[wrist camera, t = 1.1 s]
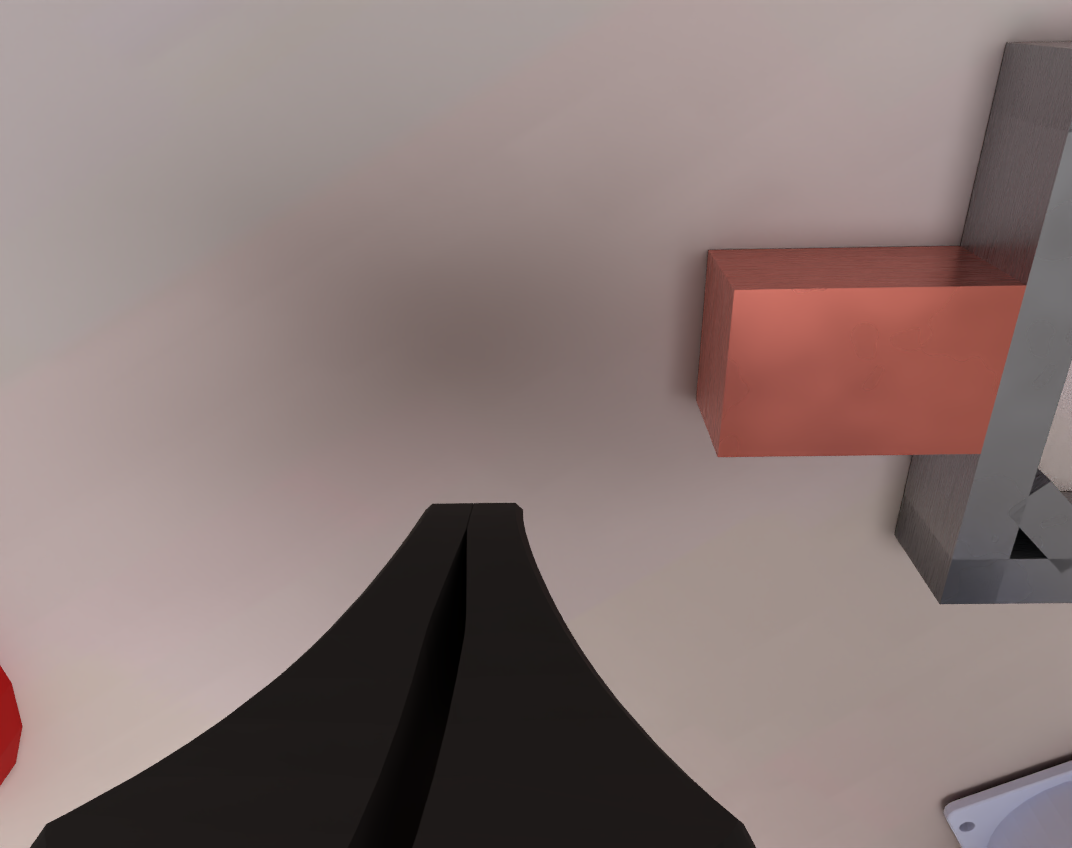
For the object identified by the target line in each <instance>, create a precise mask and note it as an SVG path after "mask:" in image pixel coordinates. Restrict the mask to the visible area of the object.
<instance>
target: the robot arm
mask: <svg viewBox="0 0 1072 848" xmlns="http://www.w3.org/2000/svg"><path fill="white" fill-rule="evenodd" d="M943 812H944V815H945V817H946V819H947V822H948V823H949V825H950V827H951V829H952V831H953V832H954V834H955V836H956V838H957V840H958V841H959V843H960V845H961V847H962V848H1072V760H1071V761H1068V762H1065V763H1062V764H1060V765H1057V766H1054V767H1051V768H1048V769H1045V770H1042V771H1039V772H1036V773H1033V774H1030V775H1028V776H1025V777H1022V778H1019V779H1016V780H1013V781H1010V782H1007V783H1004V784H1001V785H999V786H996V787H993V788H990V789H987V790H984V791H981V792H978V793H975V794H972V795H969V796H967V797H964V798H961V799H958V800H955V801H952V802H950V803H949V804H948V805H946V806H945V808H944V811H943ZM30 848H756V847H755V845H754V843H753V841H752V839H751V837H750V835H749V833H748V831H747V830H746V828H745V826H744V824H743V823H742V822H740V821H739V820H738V819H737V818H736V817H734V816H733V815H732V814H731V813H730V812H728V811H727V810H726V809H725V808H724V807H723V806H721V805H720V804H719V803H718V802H717V801H715V800H714V799H713V798H712V797H711V796H710V795H709V794H708V793H707V792H705V791H704V790H703V789H702V788H701V787H700V786H699V785H698V784H697V783H696V782H694V781H693V780H692V779H691V778H690V777H689V776H688V775H687V774H686V773H685V772H684V771H683V770H682V769H681V768H680V767H679V766H678V765H677V764H676V763H675V762H674V761H673V760H672V759H671V758H670V757H669V756H668V755H667V754H666V753H665V752H664V751H663V750H662V749H661V748H660V747H659V746H658V745H657V744H656V743H655V742H654V741H653V740H652V738H651V737H650V736H649V735H648V734H647V733H646V732H645V730H644V729H643V728H642V727H641V726H640V725H639V724H638V723H637V721H636V720H635V719H634V718H633V717H632V716H631V715H630V713H629V712H628V711H627V710H626V709H625V708H624V707H623V706H622V704H621V703H620V702H619V701H618V700H617V698H616V697H615V696H614V694H613V693H612V692H611V690H610V689H609V688H608V686H607V685H606V684H605V683H604V681H603V680H602V679H601V677H600V676H599V675H598V673H597V672H596V670H595V669H594V667H593V666H592V665H591V663H590V662H589V660H588V659H587V657H586V656H585V654H584V653H583V651H582V650H581V648H580V647H579V645H578V644H577V642H576V640H575V639H574V637H573V635H572V634H571V632H570V630H569V629H568V627H567V625H566V623H565V622H564V620H563V618H562V616H561V614H560V613H559V611H558V609H557V607H556V605H555V603H554V601H553V599H552V597H551V595H550V593H549V591H548V589H547V587H546V585H545V582H544V580H543V578H542V576H541V574H540V571H539V569H538V567H537V564H536V562H535V559H534V557H533V554H532V551H531V548H530V545H529V542H528V539H527V535H526V532H525V527H524V521H523V509H522V508H520V507H519V506H518V505H517V504H516V503H474V505H473V503H459V504H432V505H431V506H430V507H429V508H428V509H426V510H425V512H424V513H423V515H422V516H421V518H420V519H419V521H418V522H417V524H416V525H415V527H414V528H413V529H412V531H411V532H410V534H409V535H408V536H407V538H406V539H405V541H404V542H403V543H402V545H401V546H400V547H399V549H398V550H397V551H396V553H395V554H394V555H393V557H392V558H391V559H390V560H389V562H388V563H387V564H386V565H385V567H384V568H383V569H382V570H381V571H380V573H379V574H378V575H377V576H376V578H375V579H374V580H373V581H372V583H371V584H370V585H369V586H368V587H367V589H366V590H365V591H364V592H363V593H362V594H361V596H360V597H359V598H358V599H357V600H356V601H355V602H354V603H353V604H352V605H351V606H350V607H349V609H348V610H347V611H346V612H345V613H344V614H343V615H342V616H341V617H340V618H339V619H338V621H337V622H336V623H335V624H334V625H333V626H332V627H331V628H330V629H329V630H328V631H327V632H326V633H325V634H324V635H323V636H322V637H321V638H320V639H319V640H318V641H317V642H316V643H315V644H314V645H313V646H312V647H311V648H310V649H309V650H308V651H307V652H305V653H304V654H303V655H302V656H301V657H300V658H299V659H298V660H297V661H296V662H294V663H293V664H292V665H291V666H290V667H289V668H288V669H287V670H286V671H284V672H283V673H282V674H281V675H280V676H279V677H277V678H276V679H275V680H274V681H272V682H271V683H270V684H269V685H267V686H266V687H265V688H264V689H262V690H261V691H260V692H258V693H257V694H256V695H254V696H253V697H252V698H250V699H249V700H248V701H247V702H245V703H244V704H243V705H241V706H240V707H239V708H237V709H236V710H235V711H234V712H232V713H231V714H230V715H228V716H227V717H226V718H224V719H223V720H221V721H220V722H219V723H217V724H216V725H214V726H213V727H211V728H210V729H208V730H207V731H205V732H204V733H203V734H201V735H200V736H198V737H197V738H195V739H194V740H192V741H191V742H189V743H188V744H186V745H185V746H183V747H181V748H180V749H178V750H177V751H175V752H173V753H172V754H170V755H169V756H167V757H166V758H164V759H162V760H161V761H159V762H158V763H156V764H154V765H153V766H151V767H149V768H148V769H146V770H144V771H143V772H141V773H139V774H138V775H136V776H134V777H133V778H131V779H129V780H127V781H125V782H123V783H122V784H120V785H118V786H116V787H114V788H113V789H111V790H109V791H107V792H105V793H103V794H102V795H100V796H98V797H96V798H94V799H93V800H91V801H89V802H87V803H85V804H83V805H82V806H80V807H78V808H76V809H74V810H73V811H71V812H69V813H67V814H65V815H63V816H61V817H59V818H57V819H55V820H53V821H52V822H50V823H48V824H46V826H45V827H44V828H43V830H42V831H41V833H40V834H39V836H38V837H37V839H36V840H35V841H34V843H33V844H32V846H31V847H30Z"/></svg>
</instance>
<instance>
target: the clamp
mask: <svg viewBox="0 0 1072 848" xmlns="http://www.w3.org/2000/svg"><path fill="white" fill-rule="evenodd" d="M1071 360H1072V41H1065V42H1015V43H1007V44H1006V48H1005V52H1004V57H1003V61H1002V66H1001V70H1000V74H999V79H998V83H997V88H996V92H995V96H994V101H993V105H992V109H991V114H990V118H989V123H988V127H987V131H986V136H985V140H984V145H983V149H982V153H981V158H980V162H979V166H978V171H977V175H976V180H975V184H974V188H973V193H972V197H971V202H970V206H969V210H968V215H967V219H966V224H965V228H964V232H963V237H962V241H961V245H960V246H931V247H868V248H805V249H743V250H708V260H707V273H706V285H705V297H704V309H703V322H702V334H701V346H700V358H699V371H698V383H697V395H696V401H697V403H698V406H699V409H700V411H701V414H702V417H703V419H704V422H705V425H706V427H707V430H708V432H709V435H710V438H711V440H712V443H713V446H714V448H715V451H716V454H717V456H718V457H763V456H848V455H913V456H912V460H911V465H910V469H909V474H908V478H907V482H906V487H905V491H904V496H903V500H902V504H901V509H900V513H899V518H898V522H897V526H896V531H895V536H896V538H897V539H898V541H899V543H900V544H901V546H902V547H903V549H904V550H905V552H906V553H907V555H908V556H909V558H910V559H911V561H912V562H913V564H914V565H915V567H916V569H917V570H918V572H919V573H920V575H921V576H922V578H923V579H924V581H925V582H926V584H927V585H928V587H929V588H930V590H931V592H932V593H933V595H934V596H935V598H936V599H937V601H938V602H939V604H1008V603H1072V492H1060V491H1059V490H1058V488H1057V487H1056V486H1055V485H1054V484H1053V483H1052V482H1051V481H1050V480H1049V479H1048V478H1047V477H1046V476H1045V475H1044V474H1043V473H1042V472H1041V471H1040V470H1039V469H1038V466H1039V462H1040V459H1041V456H1042V453H1043V450H1044V447H1045V443H1046V440H1047V437H1048V434H1049V431H1050V427H1051V424H1052V421H1053V418H1054V415H1055V411H1056V408H1057V405H1058V402H1059V399H1060V395H1061V392H1062V389H1063V386H1064V383H1065V380H1066V376H1067V373H1068V370H1069V367H1070V364H1071Z"/></svg>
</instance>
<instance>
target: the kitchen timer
mask: <svg viewBox="0 0 1072 848" xmlns="http://www.w3.org/2000/svg"><path fill="white" fill-rule="evenodd" d="M21 731H22V723H21V719H20V715H19V711H18V707H17V703H16V699H15V695H14V691H13V687H12V683H11V681H10V680H9V678H8V677H7V675H6V674H5V672H4V671H3V669H2V667H1V666H0V785H1V784H2V782H3V781H4V779H5V778H6V777H7V775H8V774H9V772H10V771H11V769H12V768H13V766H14V765H15V764H16V759H17V753H18V748H19V742H20V736H21Z"/></svg>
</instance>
